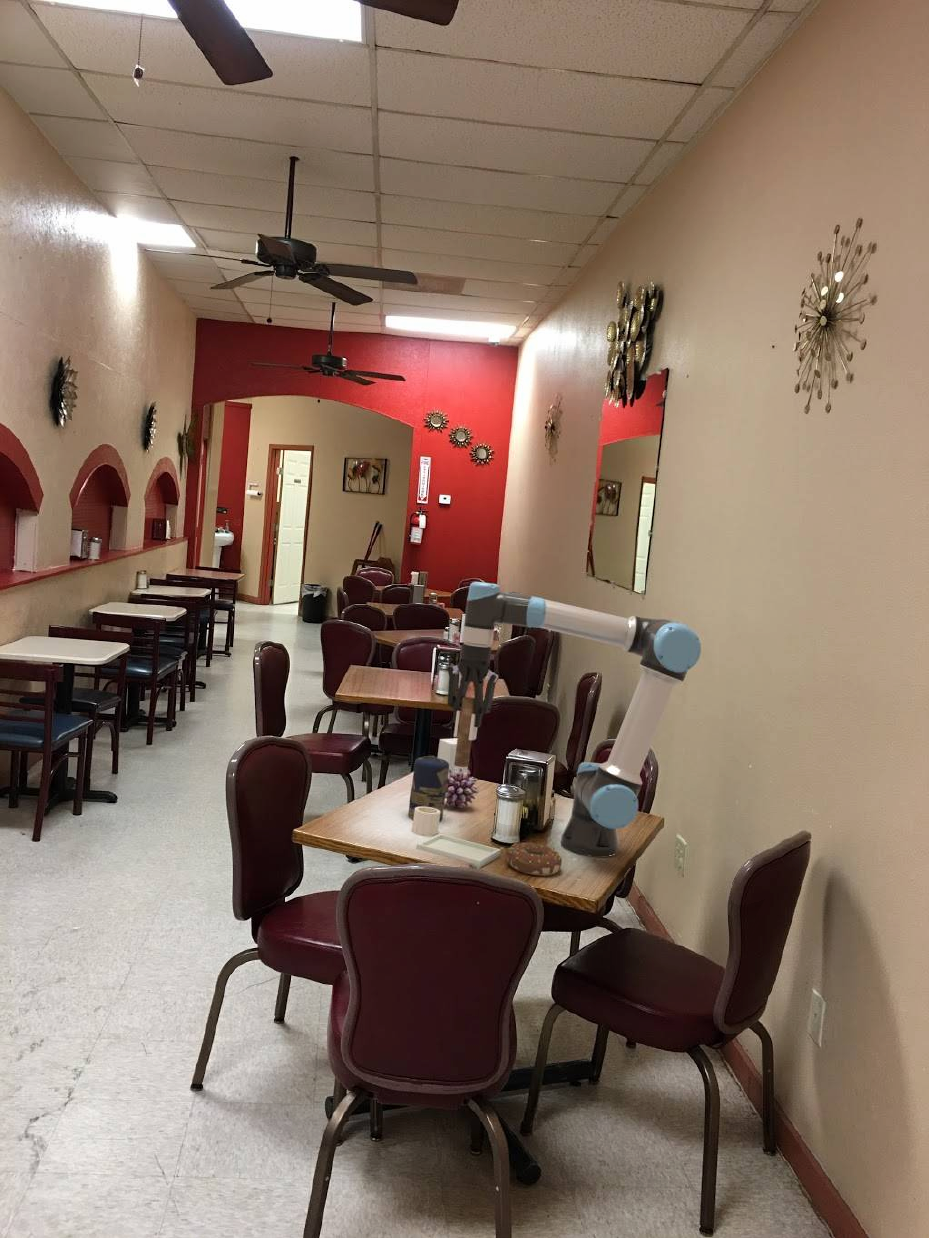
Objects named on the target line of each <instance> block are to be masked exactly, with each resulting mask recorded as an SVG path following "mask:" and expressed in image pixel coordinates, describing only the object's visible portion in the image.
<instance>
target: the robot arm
mask: <svg viewBox="0 0 929 1238" xmlns="http://www.w3.org/2000/svg"><path fill="white" fill-rule="evenodd" d="M467 594H468V595H467V598H466V606H465V617H464V625H463V629H462V630H463V631H462V637H461V638H462V639H461V641H462V644H461V647H460V652H459V653H460V654H459V659H460V660H459V662H458V663H457V664H456V665H454V666H448V667H447V674H448V677H449V678H448V691H447V703H446V704H447V706H448V707H451V708H452V709H453V714H452V715H453V716H452V722H453V723H455V725H454V732H453V737H454V738H458V731H459V723H460V715H461V708H462V700H463V697H467V696H466V695H467V693H468V689H469V685H470V684H471V683H472V684H473V688H474V693H473V694H474V698H475V712H474V714H472V717H471V725H470V732H469V740H471V741H474V740H476V739H477V734H478V728H480V727H481V726H482V720H483V715H484V714H487V713H488V714H489V713H490V712H491V709H492V706H493V705H492V704H493V699H494V694H495V688H496V685H497V683H498V680H499V679H500V675H499V674H497V673H496V674H495V673H494V672H492V670H491V667H490V663H491V656H492V651H493V649H492V647H491V646H492V645H493V640H494V633H495V626H496V623H497V624H504V625H512V626H519V627H527V628H538V629H539V628H540V629H545V630H548V631H552V632H557V633H561V634H564V635H565V634H566V635H570V636H574V637H578V638H582V639H587V640H592V641H596V642H600V643H603V644H604V643H605V644H609V645H614V646H617V647H621V648H622V650H623V652H627V653H631V654H634V655H636V656H639V657H641V660H640V662H639V665H638V666H639V668H640V670H641V677H640V679H639V682H638V683H637V687H636V689H635V691H634V694H633V696H632V699H631V701H630V704H629V706H628V709H627V712H626V713H625V717H624V718H623V722H622V723H621V726H620V729H619V732H618V733H617V736H616V739H615V741H614V744H613V746H612V748H611V751H610V754H609V756H608V759H607V761H605V762H603V763H599V762H589V761H588V762H587V761H586V762H585V761H584V762H583V761H582V762H581V763H579V765H578V768H577V772H576V779H575V780H576V781H575V787H574V796H573V800H572V802H573V803H572V808H571V816H570V818H569V820H568V822H567V825H566V827H565V828H564V831H563V833H562V835H561V840H560V845H561V846H562V847H563V848H564V849H566V850H568V851H571V852H573V853H576V854H579V855H584V856H588V855H590V857H595V856H609V855H613V854H616V853H617V854H618V850H619V842H618V841H619V840H618V836H617V829H622V828H624V827H626V826H628V825H630V823H632V822H633V820H634V819H635V818H636V816H637V814H638V811H639V799H638V796H639V793H640V791H641V788H642V785H643V781H642V778H641V776H640V773H641V771H642V769H643V766H644V763H645V761H646V759H647V757H648V753H649V751H650V749H651V747H652V744H653V742H654V739H655V736H656V734H657V731H658V729H659V726H660V723H661V721H662V719H663V717H664V714H665V713H666V712H665V711H666V708H667V706H668V704H669V701H670V699H671V697H672V694H673V691H674V689H675V687H676V686H679V685H681V684H683V683H684V680H685V679H686V675H687V673H688V671H689V670H691V669H692V668H693V667H695V666H696V664H698V661H699V660H700V656H701V653H702V646H701V645H702V644H701V641H700V638H699V636H698V634H697V633H696V632H695V631H694V630H693V629H692V628H690V627H689V626H688V625H686V624H684V623H680V622H677V621H672V620H669V619H660V618H647V617H646V618H645V617H640V616H635V615H631V616H630V617H628V618H627V617H623V616H618V615H614V614H609V613H606V612H601V611H597V610H592V609H589V608H584V607H579V606H574V605H571V604H566V603H562V602H558V601H553V600H549V599H544V598H543V597H537V596H535V595H534V596H532V595H529V594H528V595H527V594H523V593H520V592H515V591H511V592H510V591H509V592H506V593H505V592H501V590H500V585H499V584H496V583H489V582H482V581H474V582H473V581H472V582H471V583H470V585H469V588H468V593H467ZM459 673H460V675H461V677H460V678H461V679H460V682H459V683H460V684H459V687H458V680H459V677H458V676H459ZM486 677H487V682H486V689H485V693H484V685H485V682H484V681H485V679H486ZM617 854H616V855H617Z"/></svg>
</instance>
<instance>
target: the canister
mask: <svg viewBox="0 0 929 1238" xmlns="http://www.w3.org/2000/svg"><path fill="white" fill-rule="evenodd" d="M448 772H449V763H448V762H447V761H446V760H443V759H439V758H438V756H437V757H436V756H435V755H428V756H427V755H425V756H421V757H420V756H419V757H417V758H416V759H415V761H414V765H413V773H412V783H411V787H410V788H411V789H410V793H409V794H410V795H409V803H408V804H409V805H408V811H407V812H408V813H407V814H408V818H409V819H411V820H413V818H414V811H415V808H416V807H431V808H435V809H438V810H440V819H439V823H440V822H441V821H442V820H443V817H444V808H445V800H446V798H445V794H446V788H447V780H448Z"/></svg>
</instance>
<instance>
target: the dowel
mask: <svg viewBox="0 0 929 1238" xmlns="http://www.w3.org/2000/svg"><path fill="white" fill-rule="evenodd" d="M474 712H475V697H470V696H465V697H463V700H462V708H461V715H460V723H459V731H458V737H457V738H458V739H457V746H456V754H455V762H454V765H455V766H458V767H469V763H470V754H471V747H472V740H469V732H470V725H471V717H472V714H474Z"/></svg>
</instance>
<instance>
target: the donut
mask: <svg viewBox="0 0 929 1238" xmlns="http://www.w3.org/2000/svg"><path fill="white" fill-rule="evenodd" d="M505 854H506V855H505V856H506V860H507V862H508V865H509V866H510V867H512V868H513V869H515V870H517V871H519V872H521V873H525V874H528V875H529V874H530V875H533V876H551V875H552V876H553V875H554V874H556V873H557V872H559V871H560V870H561V868H562V864H563V859H562V856H561V855H560V854H559V852H558V851H557V850H555V848H553V847H552V848H551V847H550V846H547V845H545V844H544V845H542V844H537V843H533V842H524V843H523V842H519V843H517V842H515V843H514V844H512V845H511V846H510V847H509V848H507V849H505Z"/></svg>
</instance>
